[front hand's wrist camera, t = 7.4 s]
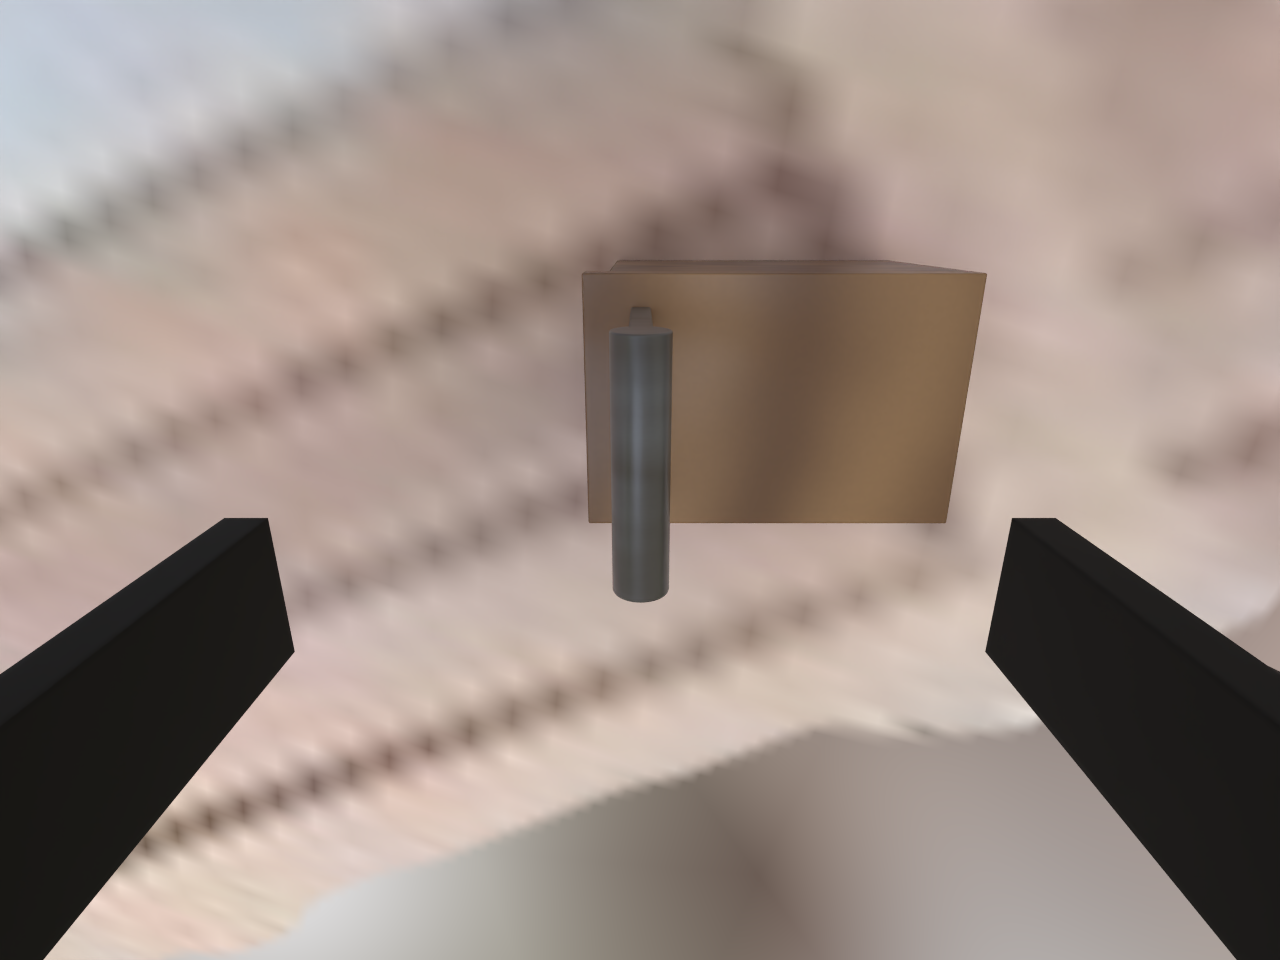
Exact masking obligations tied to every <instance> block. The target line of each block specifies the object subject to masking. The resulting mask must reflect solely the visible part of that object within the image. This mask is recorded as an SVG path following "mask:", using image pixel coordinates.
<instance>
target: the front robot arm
mask: <svg viewBox="0 0 1280 960" xmlns="http://www.w3.org/2000/svg"><path fill="white" fill-rule="evenodd" d="M294 652H295V651H294V646H293V641H292V636H291V631H290V626H289V621H288V616H287V611H286V606H285V601H284V596H283V591H282V586H281V581H280V576H279V571H278V566H277V561H276V556H275V552H274V547H273V542H272V537H271V532H270V527H269V522H268V518H224V519H222V520H221V521H220V522H218V523H217V524H215V525H214V526H212V527H211V528H209V529H208V530H207V531H205V532H204V533H202V534H201V535H199V536H198V537H197V538H195V539H194V540H192V541H191V542H189V543H188V544H187V545H185V546H184V547H182V548H181V549H179V550H178V551H176V552H175V553H174V554H172V555H171V556H169V557H168V558H166V559H165V560H164V561H162V562H161V563H159V564H158V565H156V566H155V567H154V568H152V569H151V570H149V571H148V572H146V573H145V574H143V575H142V576H141V577H139V578H138V579H136V580H135V581H133V582H132V583H131V584H129V585H128V586H126V587H125V588H123V589H122V590H121V591H119V592H118V593H116V594H115V595H113V596H112V597H111V598H109V599H108V600H106V601H105V602H103V603H102V604H100V605H99V606H98V607H96V608H95V609H93V610H92V611H90V612H89V613H88V614H86V615H85V616H83V617H82V618H80V619H79V620H78V621H76V622H75V623H73V624H72V625H70V626H69V627H67V628H66V629H65V630H63V631H62V632H60V633H59V634H57V635H56V636H55V637H53V638H52V639H50V640H49V641H47V642H46V643H45V644H43V645H42V646H40V647H39V648H37V649H36V650H34V651H33V652H32V653H30V654H29V655H27V656H26V657H24V658H23V659H22V660H20V661H19V662H17V663H16V664H14V665H13V666H12V667H10V668H9V669H7V670H6V671H4V672H3V673H1V674H0V960H43V959H44V958H45V957H46V956H47V955H48V953H49V952H50V951H51V950H52V948H53V947H54V946H55V945H56V944H57V942H58V941H59V940H60V939H61V937H62V936H63V935H64V934H65V933H66V931H67V930H68V929H69V928H70V926H71V925H72V924H73V923H74V921H75V920H76V919H77V918H78V917H79V915H80V914H81V913H82V912H83V910H84V909H85V908H86V907H87V906H88V904H89V903H90V902H91V901H92V899H93V898H94V897H95V896H96V895H97V893H98V892H99V891H100V890H101V888H102V887H103V886H104V885H105V883H106V882H107V881H108V880H109V879H110V877H111V876H112V875H113V874H114V872H115V871H116V870H117V869H118V868H119V866H120V865H121V864H122V863H123V861H124V860H125V859H126V858H127V857H128V855H129V854H130V853H131V852H132V850H133V849H134V848H135V847H136V845H137V844H138V843H139V842H140V841H141V839H142V838H143V837H144V836H145V834H146V833H147V832H148V831H149V830H150V828H151V827H152V826H153V825H154V823H155V822H156V821H157V820H158V819H159V817H160V816H161V815H162V814H163V812H164V811H165V810H166V809H167V808H168V806H169V805H170V804H171V803H172V801H173V800H174V799H175V798H176V796H177V795H178V794H179V793H180V792H181V790H182V789H183V788H184V787H185V785H186V784H187V783H188V782H189V781H190V779H191V778H192V777H193V776H194V774H195V773H196V772H197V771H198V770H199V768H200V767H201V766H202V765H203V763H204V762H205V761H206V760H207V758H208V757H209V756H210V755H211V754H212V752H213V751H214V750H215V749H216V747H217V746H218V745H219V744H220V743H221V741H222V740H223V739H224V738H225V736H226V735H227V734H228V733H229V732H230V730H231V729H232V728H233V727H234V725H235V724H236V723H237V722H238V720H239V719H240V718H241V717H242V716H243V714H244V713H245V712H246V711H247V709H248V708H249V707H250V706H251V705H252V703H253V702H254V701H255V700H256V698H257V697H258V696H259V695H260V694H261V692H262V691H263V690H264V689H265V687H266V686H267V685H268V684H269V682H270V681H271V680H272V679H273V678H274V676H275V675H276V674H277V673H278V671H279V670H280V669H281V668H282V667H283V665H284V664H285V663H286V662H287V660H288V659H289V658H290V657H291V656H292V654H293V653H294ZM985 652H986V653H987V654H988V656H989V657H990V658H991V659H992V660H993V662H994V663H995V664H996V665H997V667H998V668H999V669H1000V670H1001V671H1002V673H1003V674H1004V675H1005V676H1006V678H1007V679H1008V680H1009V681H1010V682H1011V684H1012V685H1013V686H1014V687H1015V689H1016V690H1017V691H1018V692H1019V694H1020V695H1021V696H1022V697H1023V698H1024V700H1025V701H1026V702H1027V703H1028V705H1029V706H1030V707H1031V708H1032V709H1033V711H1034V712H1035V713H1036V714H1037V716H1038V717H1039V718H1040V719H1041V720H1042V722H1043V723H1044V724H1045V725H1046V727H1047V728H1048V729H1049V730H1050V731H1051V733H1052V734H1053V735H1054V736H1055V738H1056V739H1057V740H1058V741H1059V743H1060V744H1061V745H1062V746H1063V747H1064V749H1065V750H1066V751H1067V752H1068V753H1069V755H1070V756H1071V757H1072V758H1073V760H1074V761H1075V762H1076V763H1077V765H1078V766H1079V767H1080V768H1081V769H1082V771H1083V772H1084V773H1085V774H1086V776H1087V777H1088V778H1089V779H1090V781H1091V782H1092V783H1093V784H1094V785H1095V787H1096V788H1097V789H1098V790H1099V792H1100V793H1101V794H1102V795H1103V796H1104V798H1105V799H1106V800H1107V801H1108V803H1109V804H1110V805H1111V806H1112V808H1113V809H1114V810H1115V811H1116V812H1117V814H1118V815H1119V816H1120V817H1121V818H1122V820H1123V821H1124V822H1125V823H1126V825H1127V826H1128V827H1129V828H1130V830H1131V831H1132V832H1133V833H1134V834H1135V836H1136V837H1137V838H1138V839H1139V841H1140V842H1141V843H1142V844H1143V845H1144V847H1145V848H1146V849H1147V850H1148V852H1149V853H1150V854H1151V855H1152V857H1153V858H1154V859H1155V860H1156V861H1157V863H1158V864H1159V865H1160V866H1161V868H1162V869H1163V870H1164V871H1165V872H1166V874H1167V875H1168V876H1169V877H1170V879H1171V880H1172V881H1173V882H1174V883H1175V885H1176V886H1177V887H1178V888H1179V890H1180V891H1181V892H1182V893H1183V894H1184V896H1185V897H1186V898H1187V899H1188V901H1189V902H1190V903H1191V904H1192V906H1193V907H1194V908H1195V909H1196V910H1197V912H1198V913H1199V914H1200V915H1201V917H1202V918H1203V919H1204V920H1205V921H1206V923H1207V924H1208V925H1209V926H1210V928H1211V929H1212V930H1213V931H1214V933H1215V934H1216V935H1217V936H1218V937H1219V939H1220V940H1221V941H1222V942H1223V944H1224V945H1225V946H1226V947H1227V948H1228V950H1229V951H1230V952H1231V953H1232V955H1233V956H1234V957H1235V958H1236V959H1237V960H1280V672H1279V671H1277V670H1275V669H1273V668H1271V667H1269V666H1267V665H1266V664H1264V663H1263V662H1261V661H1260V660H1258V659H1257V658H1256V657H1254V656H1253V655H1251V654H1250V653H1248V652H1247V651H1245V650H1244V649H1243V648H1241V647H1240V646H1238V645H1237V644H1235V643H1234V642H1233V641H1231V640H1230V639H1228V638H1227V637H1225V636H1224V635H1223V634H1221V633H1220V632H1218V631H1217V630H1215V629H1214V628H1213V627H1211V626H1210V625H1208V624H1207V623H1205V622H1204V621H1202V620H1201V619H1200V618H1198V617H1197V616H1195V615H1194V614H1192V613H1191V612H1190V611H1188V610H1187V609H1185V608H1184V607H1182V606H1181V605H1180V604H1178V603H1177V602H1175V601H1174V600H1172V599H1171V598H1169V597H1168V596H1167V595H1165V594H1164V593H1162V592H1161V591H1159V590H1158V589H1157V588H1155V587H1154V586H1152V585H1151V584H1149V583H1148V582H1147V581H1145V580H1144V579H1142V578H1141V577H1139V576H1138V575H1136V574H1135V573H1134V572H1132V571H1131V570H1129V569H1128V568H1126V567H1125V566H1124V565H1122V564H1121V563H1119V562H1118V561H1116V560H1115V559H1114V558H1112V557H1111V556H1109V555H1108V554H1106V553H1105V552H1104V551H1102V550H1101V549H1099V548H1098V547H1096V546H1095V545H1093V544H1092V543H1091V542H1089V541H1088V540H1086V539H1085V538H1083V537H1082V536H1081V535H1079V534H1078V533H1076V532H1075V531H1073V530H1072V529H1071V528H1069V527H1068V526H1066V525H1065V524H1063V523H1062V522H1060V521H1059V520H1058V519H1056V518H1012V522H1011V527H1010V532H1009V537H1008V542H1007V547H1006V552H1005V556H1004V561H1003V566H1002V571H1001V576H1000V581H999V586H998V591H997V596H996V601H995V606H994V611H993V616H992V621H991V626H990V631H989V636H988V641H987V646H986V651H985Z"/></svg>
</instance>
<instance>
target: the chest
mask: <svg viewBox="0 0 1280 960" xmlns="http://www.w3.org/2000/svg"><path fill="white" fill-rule="evenodd" d="M610 271H964V270H956V269H948V268H941V267H933V266H925V265H918V264H910V263H902V262H895V261H617V262H616V263H615V265H614V266H613V268H612V269H611V270H610Z"/></svg>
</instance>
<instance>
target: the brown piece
mask: <svg viewBox="0 0 1280 960" xmlns="http://www.w3.org/2000/svg"><path fill="white" fill-rule="evenodd" d="M986 277H987V274H986V273H980V272H972V271H585V272H584V273H583V274H582V298H583V334H584V370H585V406H586V442H587V478H588V514H589V523H612V566H613V591H614V593H615V594H616V595H617V596H618V597H620V598H622V599H624V600H627V601H631V602H651V601H655V600H658V599H660V598H662V597H663V596H665V595H666V594H667V592H668V590H669V544H670V523H946V519H947V513H948V507H949V501H950V495H951V489H952V482H953V476H954V470H955V464H956V458H957V452H958V446H959V440H960V434H961V428H962V422H963V416H964V410H965V404H966V398H967V392H968V386H969V380H970V374H971V368H972V362H973V356H974V350H975V343H976V337H977V331H978V325H979V319H980V313H981V307H982V301H983V295H984V289H985V283H986Z"/></svg>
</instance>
